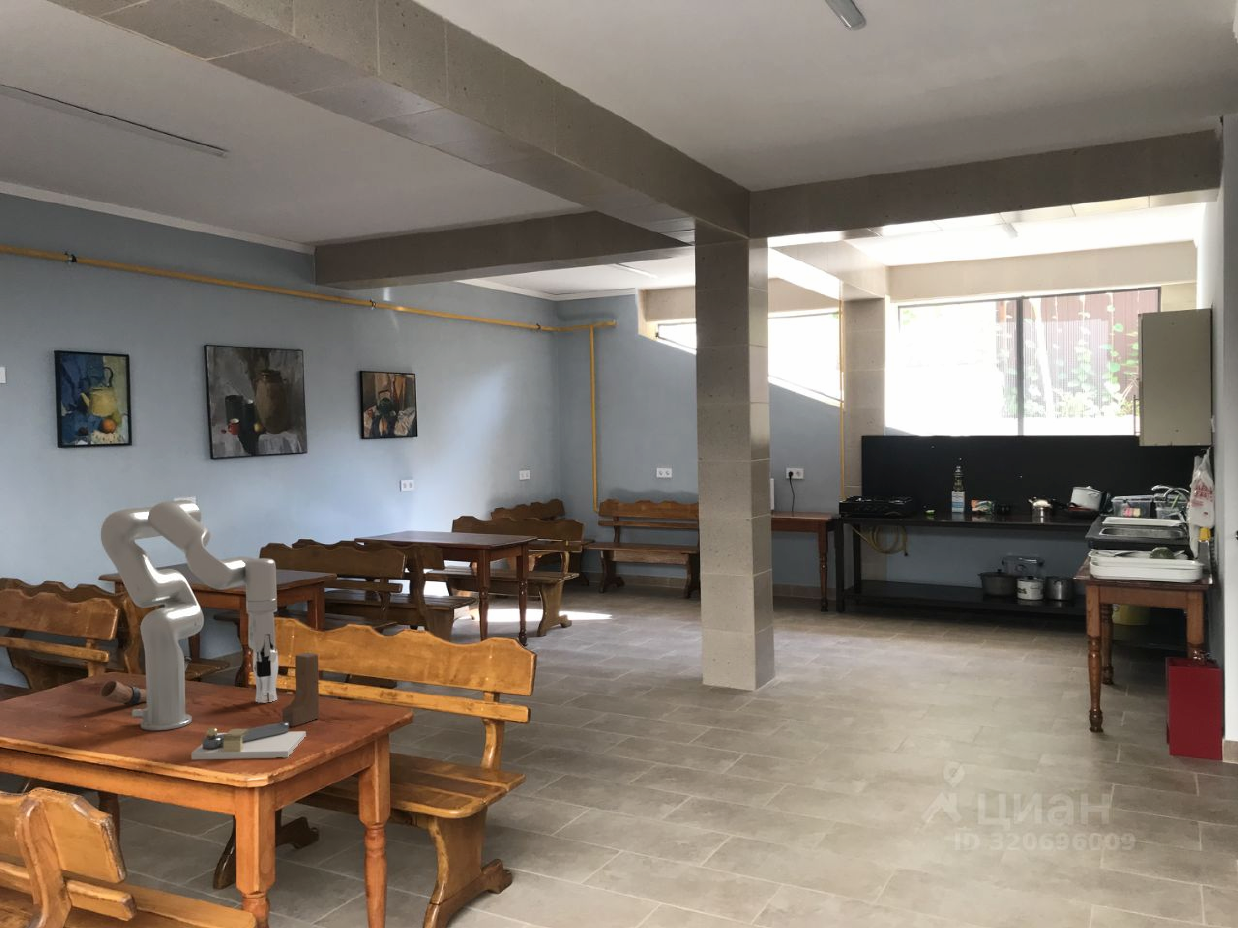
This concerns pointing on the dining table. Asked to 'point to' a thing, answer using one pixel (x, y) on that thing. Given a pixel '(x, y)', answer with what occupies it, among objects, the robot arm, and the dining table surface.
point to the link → (252, 734)
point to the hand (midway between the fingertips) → (263, 675)
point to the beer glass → (266, 680)
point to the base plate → (256, 747)
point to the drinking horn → (126, 691)
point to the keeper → (230, 738)
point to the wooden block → (304, 691)
